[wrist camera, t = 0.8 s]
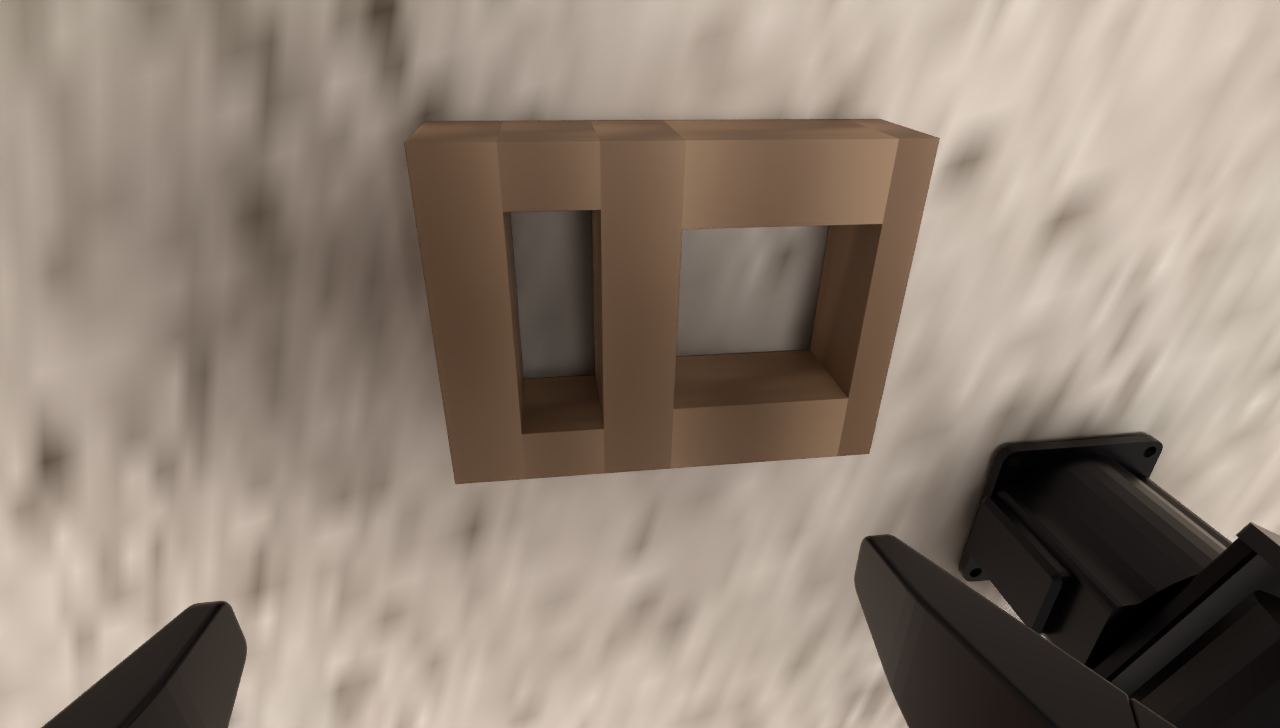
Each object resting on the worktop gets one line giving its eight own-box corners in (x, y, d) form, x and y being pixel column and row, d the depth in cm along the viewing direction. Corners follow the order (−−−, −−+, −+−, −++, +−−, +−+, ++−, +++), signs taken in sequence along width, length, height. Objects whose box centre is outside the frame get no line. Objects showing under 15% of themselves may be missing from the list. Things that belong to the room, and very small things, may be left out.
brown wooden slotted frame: (880, 119, 18) (939, 138, 15) (829, 401, 22) (869, 453, 20) (425, 121, 16) (404, 142, 14) (465, 423, 21) (455, 483, 18)
